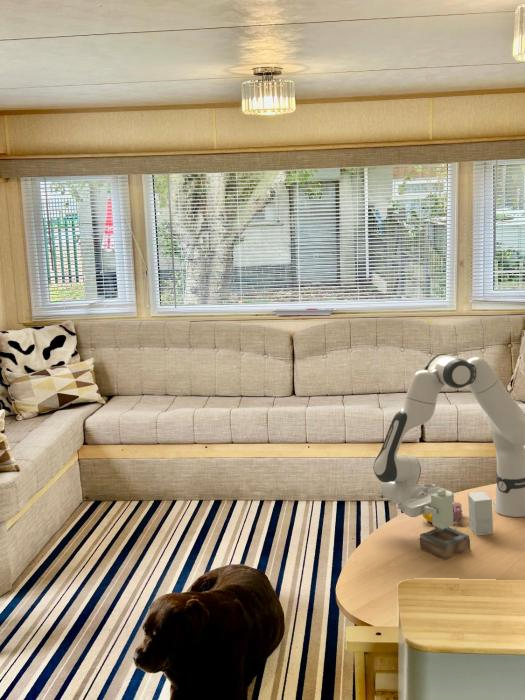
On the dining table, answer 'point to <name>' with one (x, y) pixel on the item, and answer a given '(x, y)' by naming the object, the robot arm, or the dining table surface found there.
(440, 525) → the tower brick
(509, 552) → the dining table surface
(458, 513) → the video game controller
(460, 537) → the gray square frame
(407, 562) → the dining table surface
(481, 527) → the small box
